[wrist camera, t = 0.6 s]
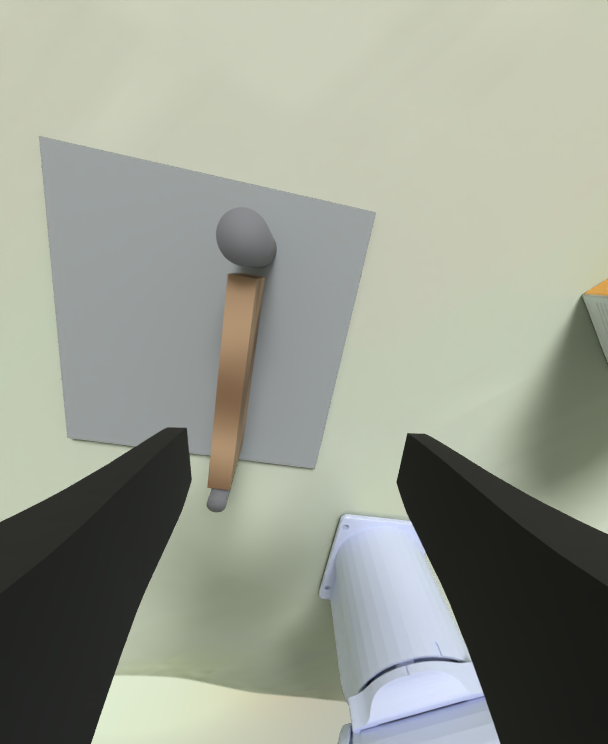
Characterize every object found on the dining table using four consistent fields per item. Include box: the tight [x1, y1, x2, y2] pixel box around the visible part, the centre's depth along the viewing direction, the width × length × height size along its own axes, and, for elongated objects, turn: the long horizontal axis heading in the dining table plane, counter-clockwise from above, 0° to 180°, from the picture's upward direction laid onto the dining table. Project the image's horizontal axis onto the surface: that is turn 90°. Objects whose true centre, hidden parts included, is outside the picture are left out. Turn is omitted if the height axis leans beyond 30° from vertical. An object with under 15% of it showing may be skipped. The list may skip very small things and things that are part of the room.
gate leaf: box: [207, 273, 265, 490], centre depth 16 cm, size 11×1×4 cm, turn 170°
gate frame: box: [39, 136, 376, 512], centre depth 15 cm, size 17×17×6 cm
